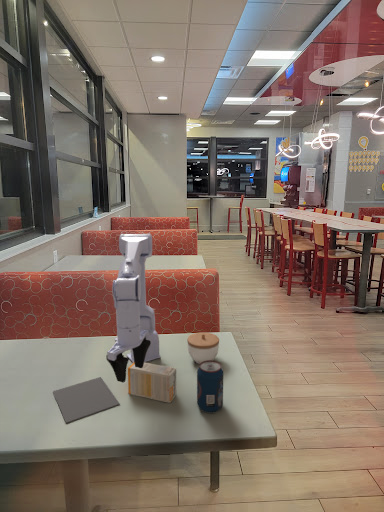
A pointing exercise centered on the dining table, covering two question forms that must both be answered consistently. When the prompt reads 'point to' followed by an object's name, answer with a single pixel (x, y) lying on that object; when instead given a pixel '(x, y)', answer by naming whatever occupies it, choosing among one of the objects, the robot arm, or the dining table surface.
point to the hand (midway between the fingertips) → (130, 373)
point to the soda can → (210, 386)
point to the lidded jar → (203, 346)
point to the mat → (84, 399)
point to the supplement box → (152, 382)
